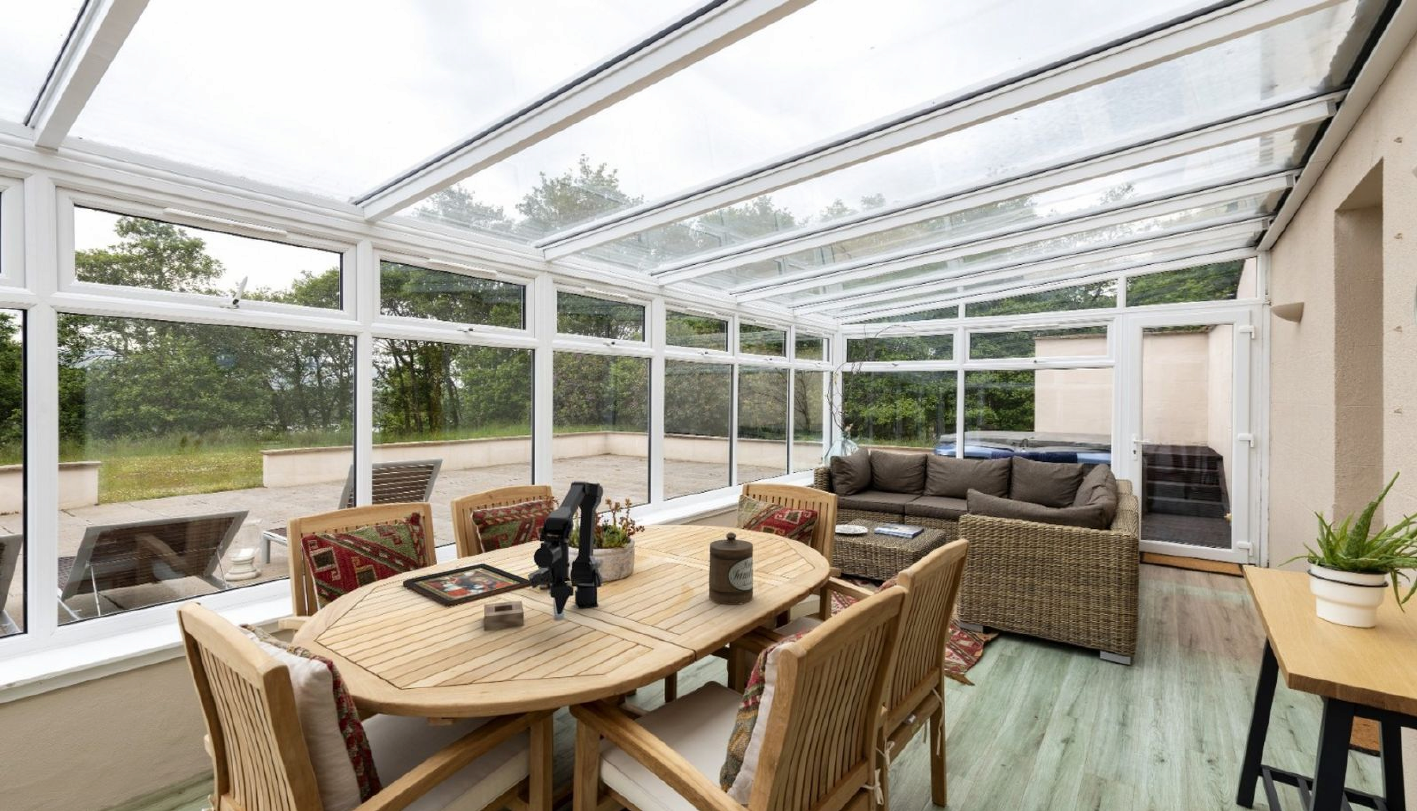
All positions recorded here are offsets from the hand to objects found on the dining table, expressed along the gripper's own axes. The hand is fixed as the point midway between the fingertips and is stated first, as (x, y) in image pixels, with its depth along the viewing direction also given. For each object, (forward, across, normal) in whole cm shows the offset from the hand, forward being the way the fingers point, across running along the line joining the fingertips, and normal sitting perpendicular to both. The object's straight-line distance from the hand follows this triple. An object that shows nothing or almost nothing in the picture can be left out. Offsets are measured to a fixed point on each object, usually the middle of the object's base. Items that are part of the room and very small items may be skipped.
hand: (558, 612), depth 182 cm
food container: (+5, -43, +3) cm, 44 cm away
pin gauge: (+2, 0, 0) cm, 2 cm away
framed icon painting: (+6, -54, -26) cm, 60 cm away
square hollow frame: (+5, -12, -15) cm, 20 cm away
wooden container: (+5, -10, +58) cm, 59 cm away
